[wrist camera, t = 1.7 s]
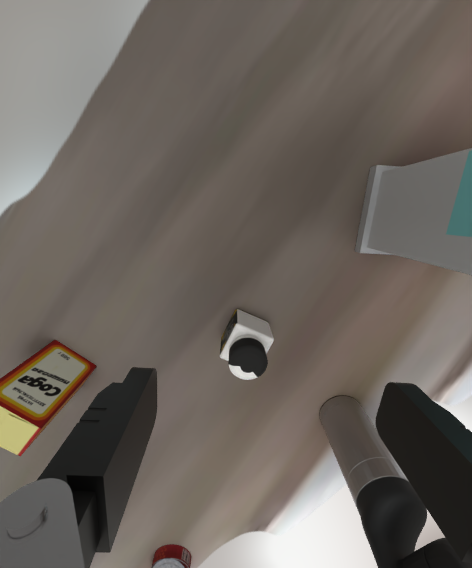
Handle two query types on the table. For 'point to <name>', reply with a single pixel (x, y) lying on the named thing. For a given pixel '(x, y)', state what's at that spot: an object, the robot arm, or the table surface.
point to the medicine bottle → (246, 345)
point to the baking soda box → (38, 393)
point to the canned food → (172, 557)
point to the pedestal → (415, 213)
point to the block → (463, 204)
